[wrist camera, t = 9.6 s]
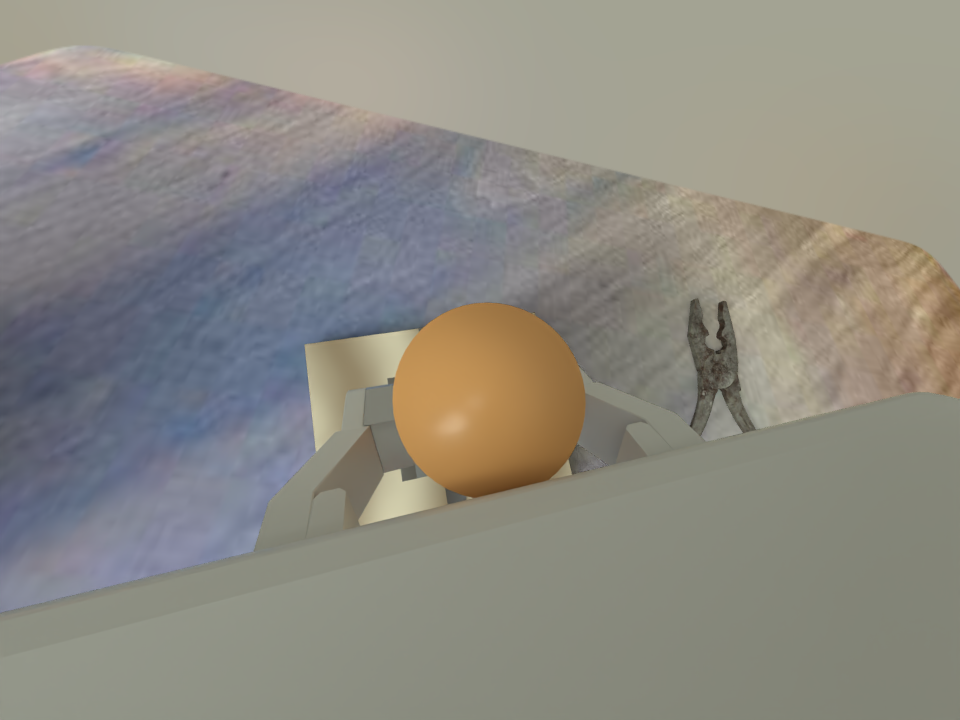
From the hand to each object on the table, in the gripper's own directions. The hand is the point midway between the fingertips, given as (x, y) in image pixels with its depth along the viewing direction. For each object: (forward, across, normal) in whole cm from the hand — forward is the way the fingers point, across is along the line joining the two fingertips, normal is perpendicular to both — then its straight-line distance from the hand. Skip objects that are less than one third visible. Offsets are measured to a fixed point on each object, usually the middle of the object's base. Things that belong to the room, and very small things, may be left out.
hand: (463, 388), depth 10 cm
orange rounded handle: (+4, 0, +5) cm, 6 cm away
